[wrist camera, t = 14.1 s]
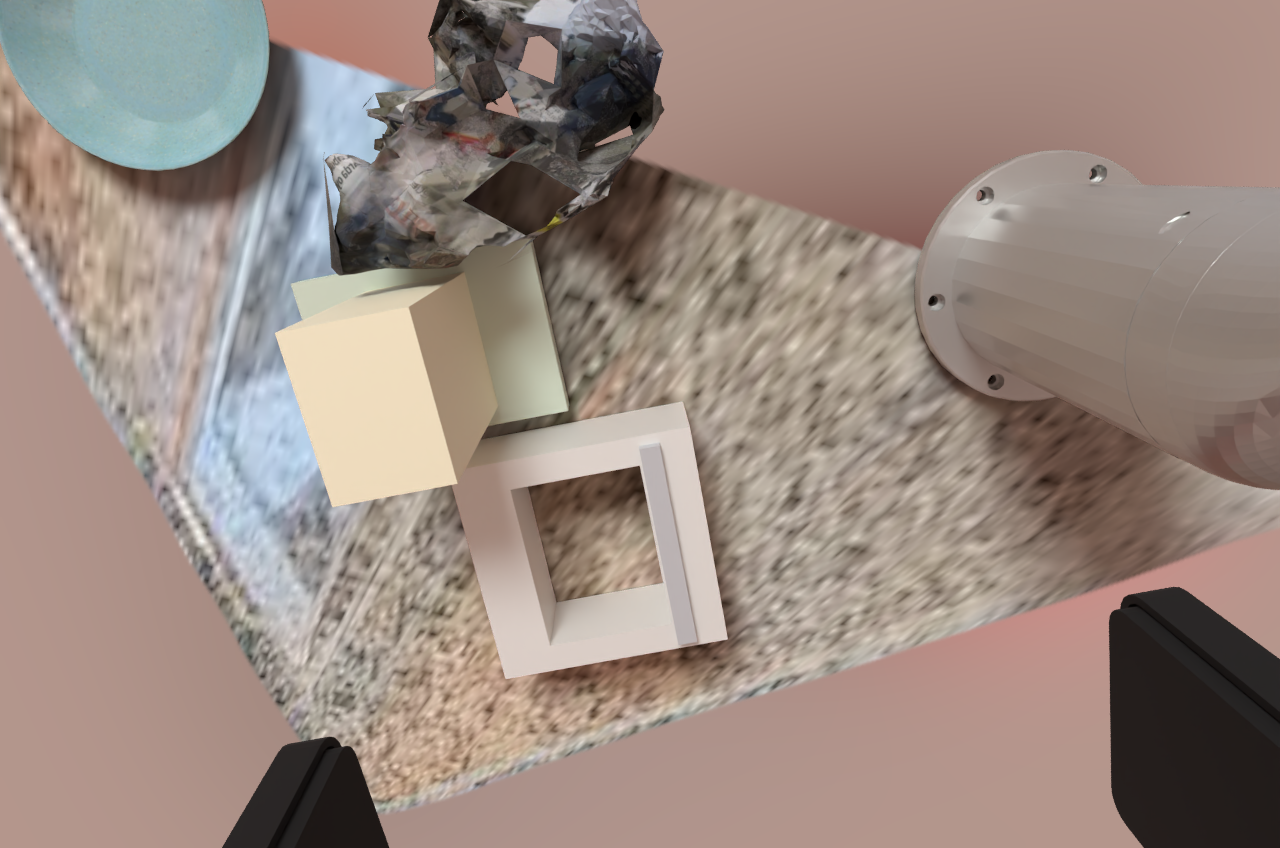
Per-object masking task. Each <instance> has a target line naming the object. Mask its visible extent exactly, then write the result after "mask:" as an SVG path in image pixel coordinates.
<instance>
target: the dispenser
mask: <svg viewBox="0 0 1280 848" xmlns="http://www.w3.org/2000/svg"><path fill="white" fill-rule="evenodd" d="M635 466H640V469H641V474H642V479H643V484H644V489H645V494H646V499H647V504H648V509H649V514H650V519H651V524H652V529H653V534H654V539H655V544H656V549H657V554H658V559H659V564H660V568H661V573H662V578H663V583H660V584H655V585H649V586H644V587H638V588H633V589H627V590H622V591H616V592H611V593H605V594H600V595H594V596H589V597H583V598H578V599H572V600H567V601H561V602H556V598H555V594H554V590H553V586H552V582H551V578H550V574H549V570H548V566H547V562H546V558H545V554H544V550H543V546H542V542H541V538H540V534H539V530H538V526H537V522H536V518H535V514H534V510H533V506H532V502H531V498H530V494H529V490H528V486H533V485H539V484H544V483H549V482H555V481H560V480H565V479H571V478H576V477H581V476H587V475H592V474H598V473H603V472H608V471H614V470H619V469H624V468H630V467H635ZM452 488H453V492H454V495H455V499H456V503H457V506H458V510H459V513H460V517H461V520H462V524H463V528H464V531H465V535H466V538H467V542H468V546H469V549H470V553H471V556H472V560H473V563H474V567H475V571H476V574H477V578H478V581H479V585H480V589H481V592H482V596H483V599H484V603H485V606H486V610H487V614H488V617H489V621H490V624H491V628H492V632H493V635H494V639H495V642H496V646H497V649H498V653H499V657H500V660H501V664H502V667H503V671H504V675H505V678H506V679H509V678H515V677H520V676H526V675H532V674H537V673H543V672H548V671H554V670H560V669H565V668H571V667H576V666H582V665H587V664H593V663H599V662H604V661H610V660H615V659H621V658H627V657H632V656H638V655H643V654H649V653H655V652H660V651H666V650H671V649H677V648H683V647H688V646H694V645H699V644H705V643H711V642H716V641H722V640H727V639H728V637H727V632H726V626H725V621H724V615H723V609H722V604H721V598H720V593H719V587H718V581H717V576H716V570H715V564H714V559H713V553H712V548H711V542H710V536H709V531H708V525H707V520H706V514H705V508H704V503H703V497H702V492H701V486H700V480H699V475H698V469H697V464H696V458H695V452H694V447H693V441H692V436H691V430H690V425H689V422H688V418H687V415H686V411H685V408H684V404H683V402H678V403H672V404H667V405H662V406H656V407H651V408H646V409H640V410H635V411H630V412H625V413H619V414H614V415H609V416H603V417H598V418H593V419H587V420H582V421H577V422H572V423H566V424H561V425H556V426H550V427H545V428H540V429H534V430H529V431H524V432H518V433H513V434H508V435H503V436H497V437H492V438H487V439H481V440H480V442H479V444H478V446H477V447H476V449H475V451H474V453H473V455H472V457H471V459H470V461H469V463H468V465H467V467H466V469H465V470H464V472H463V474H462V476H461V478H460V480H459V482H458V484H454V485H452Z"/></svg>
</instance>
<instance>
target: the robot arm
mask: <svg viewBox="0 0 1280 848" xmlns="http://www.w3.org/2000/svg"><path fill="white" fill-rule="evenodd" d="M1090 170H1091V171H1092V176H1091V177H1090V178H1089V173H1090ZM979 190H980V191H981V192H982V197H981V199H980V200H979V201H977V199H976V196H977V192H978V191H979ZM931 296H934V298H935V300H934V302H933V304H930V305H928V301H929V299H930V297H931ZM915 309H916V313H917V317H918V321H919V325H920V330H921V332H922V334H923V336H924V338H925V340H926V343H927V345H928V347H929V349H930V351H931V352H932V353H933V354H934V356H935V357H936V358H937V360H938V361H939V362H940V364H941V365H942V366H943V367H944V368H945V369H946V370H947V371H949V372H950V373H951V374H952V375H953V376H955V377H956V378H957V379H958V380H960V381H961V382H963V383H965V384H967V385H968V386H970V387H971V388H973V389H975V390H977V391H979V392H982V393H984V394H986V395H988V396H992V397H996V398H1001V399H1006V400H1011V401H1040V400H1046V399H1051V398H1056V397H1058V398H1060V399H1062V400H1064V401H1066V402H1068V403H1070V404H1072V405H1074V406H1076V407H1078V408H1080V409H1082V410H1084V411H1086V412H1088V413H1090V414H1092V415H1094V416H1096V417H1098V418H1099V419H1101V420H1103V421H1105V422H1107V423H1109V424H1111V425H1113V426H1115V427H1117V428H1119V429H1121V430H1123V431H1125V432H1127V433H1129V434H1131V435H1133V436H1135V437H1137V438H1139V439H1141V440H1143V441H1145V442H1147V443H1149V444H1151V445H1153V446H1155V447H1157V448H1159V449H1161V450H1163V451H1165V452H1167V453H1169V454H1171V455H1173V456H1175V457H1177V458H1179V459H1182V460H1184V461H1186V462H1188V463H1190V464H1192V465H1194V466H1196V467H1198V468H1200V469H1202V470H1204V471H1206V472H1208V473H1210V474H1213V475H1216V476H1218V477H1221V478H1223V479H1226V480H1229V481H1232V482H1235V483H1239V484H1243V485H1247V486H1252V487H1256V488H1263V489H1271V490H1280V188H1271V187H1270V188H1269V187H1216V186H1165V185H1143V184H1142V183H1141V182H1139V181H1138V179H1136V178H1135V177H1134V176H1133V175H1132V174H1131V173H1130V172H1129V171H1127V170H1126V169H1124V168H1122V167H1121V166H1119V165H1118V164H1116V163H1114V162H1113V161H1111V160H1109V159H1106V158H1103V157H1100V156H1097V155H1094V154H1091V153H1087V152H1079V151H1069V150H1054V151H1041V152H1036V153H1031V154H1026V155H1020V156H1017V157H1015V158H1012V159H1010V160H1007V161H1005V162H1002V163H1000V164H997V165H995V166H993V167H992V168H990V169H989V170H987V171H985V172H984V173H982V174H981V175H979V176H977V177H976V178H975V179H973V180H972V181H971V182H970V183H969V184H967V185H966V186H965V187H964V188H963V189H962V190H961V191H960V192H958V193H957V194H956V195H955V196H954V197H953V199H952V200H951V201H950V202H949V204H948V205H947V206H946V207H945V209H944V210H943V211H942V212H941V214H940V215H939V216H938V218H937V220H936V222H935V224H934V225H933V227H932V229H931V231H930V232H929V234H928V236H927V238H926V241H925V243H924V246H923V249H922V252H921V255H920V258H919V261H918V266H917V273H916V280H915ZM991 376H993V377H992V380H991V381H989V382H988V379H989V378H990V377H991ZM1109 645H1110V646H1109V647H1110V648H1109V650H1110V718H1111V719H1110V720H1111V721H1110V722H1111V788H1112V795H1113V799H1114V802H1115V805H1116V808H1117V810H1118V812H1119V814H1120V816H1121V818H1122V820H1123V821H1124V823H1125V824H1126V825H1127V827H1128V828H1129V829H1130V831H1131V832H1132V833H1133V834H1134V836H1135V837H1136V838H1137V840H1138V841H1139V842H1140V843H1141V845H1142V846H1143V847H1144V848H1280V659H1279V658H1277V657H1276V656H1275V655H1273V654H1272V653H1271V652H1269V651H1268V650H1267V649H1265V648H1264V647H1262V646H1261V645H1260V644H1258V643H1257V642H1256V641H1254V640H1253V639H1252V638H1250V637H1249V636H1247V635H1246V634H1245V633H1243V632H1242V631H1241V630H1239V629H1238V628H1236V627H1235V626H1234V625H1232V624H1231V623H1230V622H1228V621H1227V620H1225V619H1224V618H1223V617H1222V616H1220V615H1219V614H1217V613H1216V612H1215V611H1213V610H1212V609H1211V608H1209V607H1208V606H1206V605H1205V604H1204V603H1202V602H1201V601H1200V600H1198V599H1197V598H1196V597H1194V596H1193V595H1191V594H1190V593H1189V592H1187V591H1185V590H1184V589H1182V588H1180V587H1171V588H1165V589H1159V590H1153V591H1148V592H1142V593H1136V594H1131V595H1128V596H1126V597H1124V598H1123V601H1122V603H1121V608H1120V609H1118V610H1114V611H1113V612H1112V613H1111V615H1110V620H1109ZM222 848H389V846H388V843H387V840H386V837H385V834H384V832H383V829H382V826H381V823H380V821H379V818H378V815H377V812H376V809H375V806H374V803H373V801H372V798H371V795H370V792H369V789H368V787H367V784H366V781H365V778H364V775H363V773H362V770H361V767H360V764H359V761H358V759H357V756H356V754H355V752H354V750H353V749H352V748H351V747H349V746H344V747H341V745H340V743H339V741H338V740H337V739H336V738H334V737H325V738H319V739H314V740H308V741H302V742H297V743H291V744H287V745H285V746H283V747H282V748H281V750H280V751H279V752H278V754H277V756H276V757H275V759H274V761H273V762H272V764H271V766H270V767H269V769H268V771H267V773H266V774H265V776H264V777H263V779H262V781H261V783H260V784H259V786H258V788H257V789H256V791H255V793H254V794H253V796H252V798H251V800H250V801H249V803H248V805H247V806H246V808H245V810H244V812H243V813H242V815H241V816H240V818H239V820H238V822H237V823H236V825H235V827H234V828H233V830H232V832H231V833H230V835H229V837H228V838H227V840H226V842H225V844H224V845H223V847H222Z"/></svg>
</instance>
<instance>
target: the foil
mask: <svg viewBox="0 0 1280 848" xmlns="http://www.w3.org/2000/svg"><path fill="white" fill-rule="evenodd" d="M462 11H463V12H464V13H463V12H462ZM464 17H465V18H464ZM461 19H462V20H461ZM459 20H460V21H459ZM458 21H459V22H458ZM432 35H433V36H432ZM540 35H541V36H542V37H543V38H545V39H546V40H547V41H549V42H550V43H551V44H552V45H553V46H554V47H555V48H556V49H557V50H558V55H557V66H556V73H555V79H554V84H552V83H550V82H547V81H545V80H542V79H540V78H538V77H535V76H533V75H530V74H528V73H525V72H523V71H520V70H518V67H519V64H520V63H521V61H522V58H523V55H524V51H525V46H526V44H527V41H528V37H534V36H540ZM430 36H432V38H428V39H429V41H430V43H431V45H432V47H433V49H434V63H435V65H434V66H435V84H434V85H432V86H430V87H429V88H427V89H423V90H410V91H397V92H383V93H375V94H376V97H377V100H378V102H379V105H380V108H375V109H367V110H366V111H368V112H367V113H368V116H369V117H372V118H375V119H378V120H380V121H382V122H384V123H386V124H387V127H388V128H387V130H386V132H385V134H383V138H380V139H375V144H374V149H375V150H378V151H380V153H379V154H378V156H377V158H376V160H375V161H374V162H373V163H372V164H370V163H368V162H366V161H364V160H362V159H359V158H357V157H354V156H351V155H344V154H333V155H330V156H329V157H328V158H327V159H326V160H325V162H326V163H327V165H328V167H329V168H330V170H331V173H332V176H333V181H334V183H335V185H336V186H337V188H338V190H339V192H340V205H339V209H338V214H337V222H336V225H335V229H334V226H333V219H332V213H331V206H330V199H329V193H328V186H327V179H326V173H325V184H326V196H327V208H328V220H329V233H330V251H331V267H332V268H333V270H334V271H335V272H336V273H337V274H338V275H339V276H343V275H352V274H358V273H363V272H368V271H373V270H379V269H385V268H392V269H441V268H449V267H454V266H458V265H459V264H460V263H461V262H462V261H463V260H464V259H465V258H466V257H467V256H468V255H469V254H470V252H471V251H472V250H473V249H474V248H475V247H476V246H477V245H493V246H506V245H508V244H509V243H511V242H514V241H518V240H523V239H528V238H532V237H533V238H532V239H531V240H530V241H529V242H528V243H526V244H525V245H524V246H523V247H522V248H521V249H520V250H519V251H518V252H517V253H519V252H520V251H521V250H522V249H523V248H525V247H526V246H527V245H528V244H529V243H530V242H532V241H533V240H534V239H535V238H536V237H537V236H539V235H541V234H542V233H544V232H546V231H548V230H550V229H551V228H553V227H555V226H557V225H559V224H561V223H562V222H564V221H566V220H568V219H570V218H571V217H573V216H575V215H577V214H578V213H580V212H582V211H584V210H585V209H587V208H589V207H590V206H592V205H594V204H595V203H597V202H599V201H600V200H602V199H604V198H605V197H607V196H608V193H609V190H610V187H611V185H612V183H613V182H614V180H612V179H613V178H614V177H615V176H616V174H617V173H618V172H619V171H620V169H621V168H622V167H623V166H624V164H625V163H626V162H627V160H628V159H629V158H630V157H631V155H632V154H633V153H634V151H635V150H636V149H637V148H638V147H639V145H640V144H641V143H642V142H643V141H644V140H645V138H647V137H648V135H649V134H650V133H651V132H652V131H653V129H654V127H655V125H656V123H657V121H658V120H659V117H660V115H661V114H662V113H663V111H664V108H663V107H662V103H661V97H660V96H659V95H657V94H656V93H655V92H654V87H655V83H656V78H657V75H658V71H659V67H660V63H661V59H662V55H663V50H662V48H661V47H660V45H659V44H658V42H657V41H656V39H655V38H654V36H653V35H652V33H651V32H650V30H649V29H648V27H647V26H646V25H645V24H644V23H643V21H642V18H641V15H640V11H639V8H638V4H637V0H440V1H439V3H438V7H437V10H436V13H435V16H434V19H433V23H432V26H431V29H430V32H429V35H428V37H430ZM435 85H436V89H431V88H432V87H434V86H435ZM507 90H508V93H509V95H510V97H511V99H512V102H513V104H514V106H515V108H516V110H517V112H518V115H519V117H520V118H517V117H513V116H510V115H506V114H502V113H498V112H494V111H491V110H487V109H486V105H487V104H488V103H490V102H494V103H495V104H496V105H497V103H496V101H495V100H496V99H498V98H500V97H502V96H503V95H504V93H505V92H506V91H507ZM370 99H371V98H370ZM370 99H369V100H370ZM369 100H368V101H369ZM366 104H367V103H366ZM366 104H365V105H366ZM365 105H364V106H365ZM362 109H363V108H362ZM628 126H630V127H631V130H632V132H633V135H631V136H628V137H625V138H622V139H618V140H615V141H613V142H609V143H606V144H603V145H600V146H597V147H595V144H596V143H598V142H600V141H601V140H603V139H605V138H607V137H609V136H611V135H612V134H615V133H617V132H618V131H620V130H623V129H624V128H626V127H628ZM583 149H588V150H585V151H582V152H579V151H581V150H583ZM324 153H325V152H324ZM323 160H324V158H323ZM510 161H514V162H519V163H525V164H530V165H532V166H534V167H536V168H537V169H539V170H541V171H542V172H544V173H546V174H547V175H549V176H551V177H553V178H554V179H556V180H558V181H559V182H561V183H563V184H564V185H566V186H568V187H569V188H571V189H573V190H574V191H576V192H578V193H580V194H581V195H579V196H578V197H576V198H575V199H573V200H572V201H570V202H569V203H567V204H566V205H564V206H563V207H561V208H560V209H558V210H557V211H556V215H555V217H554V218H553V220H552V221H551V222H550V223H549V224H548V226H547V227H545V228H542V229H540V230H538V231H536V232H533V233H531V234H529V235H524V234H522V233H520V232H518V231H516V230H515V229H513V228H511V227H509V226H507V225H506V224H504V223H502V222H500V221H498V220H497V219H495V218H493V217H491V216H489V215H488V214H486V213H484V212H482V211H480V210H479V209H477V208H475V207H473V206H471V205H470V204H468V203H466V202H464V201H462V200H464V199H465V198H466V197H467V196H469V195H470V194H471V193H472V192H473V191H475V190H476V189H477V188H478V187H480V186H481V185H482V184H483V183H484V182H486V181H487V180H488V179H489V178H491V177H492V176H493V175H494V174H496V173H497V172H498V171H499V170H500V169H502V168H503V167H504V166H505V165H507V164H508V163H509V162H510ZM324 172H325V166H324ZM517 253H516V254H517ZM528 253H529V252H528ZM516 254H515V255H516ZM526 254H527V253H526ZM515 255H514V256H515ZM524 255H525V254H524ZM514 256H513V257H514ZM522 256H523V255H522ZM513 257H512V258H513ZM520 257H521V256H520ZM512 258H511V259H512ZM518 258H519V257H518ZM511 261H512V260H511ZM509 262H510V261H509ZM507 263H508V262H507ZM505 264H506V263H505ZM503 265H504V264H503ZM496 268H497V267H496Z"/></svg>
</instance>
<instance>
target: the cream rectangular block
mask: <svg viewBox="0 0 1280 848" xmlns="http://www.w3.org/2000/svg"><path fill="white" fill-rule="evenodd" d="M275 335H276V338H277V341H278V344H279V347H280V350H281V353H282V356H283V359H284V362H285V365H286V368H287V371H288V374H289V377H290V380H291V383H292V386H293V389H294V392H295V395H296V398H297V401H298V404H299V407H300V410H301V413H302V416H303V419H304V422H305V425H306V428H307V431H308V434H309V437H310V440H311V443H312V446H313V449H314V453H315V456H316V459H317V462H318V465H319V468H320V471H321V474H322V477H323V480H324V483H325V486H326V489H327V492H328V495H329V498H330V501H331V504H332V507H336V506H342V505H347V504H352V503H358V502H363V501H368V500H374V499H379V498H384V497H390V496H395V495H400V494H406V493H411V492H416V491H422V490H427V489H432V488H438V487H443V486H448V485H454V484H458V482H459V480H460V478H461V476H462V474H463V472H464V470H465V469H466V467H467V465H468V463H469V461H470V459H471V457H472V455H473V453H474V451H475V449H476V447H477V446H478V444H479V442H480V440H481V438H482V436H483V434H484V432H485V430H486V428H487V426H488V424H489V423H490V421H491V419H492V417H493V415H494V413H495V411H496V409H497V407H498V403H497V399H496V395H495V391H494V387H493V383H492V379H491V375H490V371H489V367H488V363H487V359H486V355H485V351H484V347H483V344H482V340H481V336H480V332H479V328H478V324H477V320H476V316H475V312H474V308H473V304H472V300H471V296H470V292H469V288H468V284H467V280H466V276H465V272H462V273H457V274H451V275H446V276H441V277H436V278H431V279H426V280H421V281H416V282H411V283H406V284H400V285H395V286H390V287H385V288H380V289H375V290H370V291H365V292H363V293H361V294H359V295H357V296H355V297H352V298H350V299H348V300H346V301H344V302H341V303H339V304H337V305H335V306H333V307H331V308H328V309H326V310H324V311H322V312H320V313H318V314H315V315H313V316H311V317H309V318H307V319H304V320H302V321H300V322H298V323H296V324H294V325H291V326H289V327H287V328H285V329H283V330H280V331H278V332H276V333H275Z"/></svg>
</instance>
